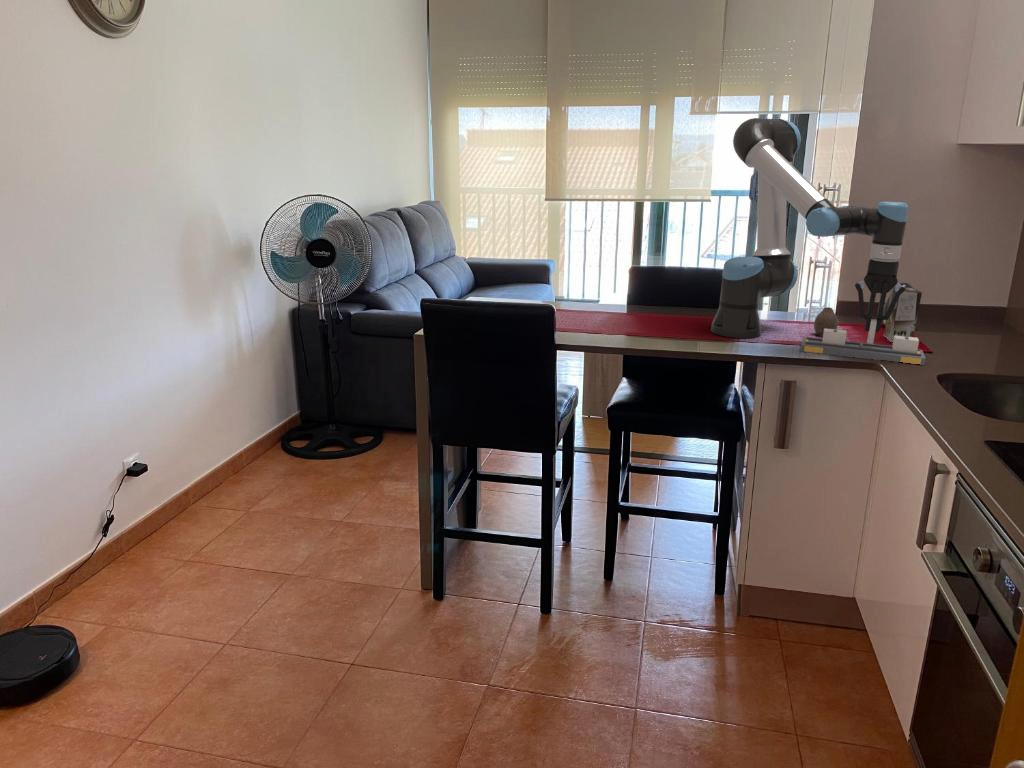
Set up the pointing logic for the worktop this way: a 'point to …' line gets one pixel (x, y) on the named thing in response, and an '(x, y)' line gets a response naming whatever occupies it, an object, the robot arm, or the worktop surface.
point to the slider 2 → (905, 344)
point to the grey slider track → (861, 351)
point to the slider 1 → (834, 336)
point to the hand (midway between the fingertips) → (869, 342)
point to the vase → (825, 321)
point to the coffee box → (903, 314)
